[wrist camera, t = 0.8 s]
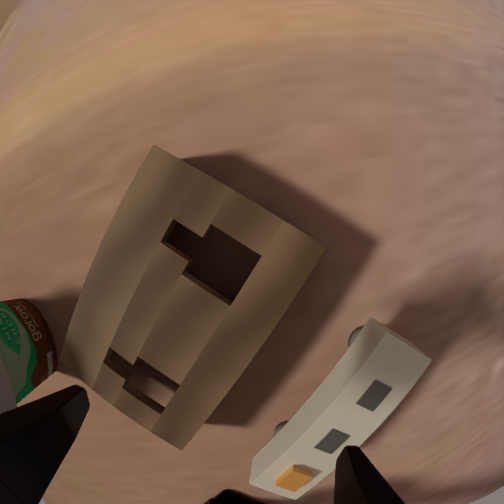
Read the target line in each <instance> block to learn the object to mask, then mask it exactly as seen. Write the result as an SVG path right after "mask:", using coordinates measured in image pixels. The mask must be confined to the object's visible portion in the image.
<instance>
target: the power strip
mask: <svg viewBox="0 0 504 504" xmlns="http://www.w3.org/2000/svg"><path fill="white" fill-rule="evenodd" d="M348 343H349V348H348V350H347V351H346V352H345V354H344V355H343V357H342V358H341V359H340V360H339V362H338V363H337V364H336V366H335V367H334V368H333V370H332V371H331V372H330V373H329V375H328V376H327V377H326V378H325V380H324V381H323V382H322V383H321V385H320V386H319V387H318V388H317V389H316V391H315V392H314V393H313V394H312V395H311V397H310V398H309V399H308V400H307V401H306V402H305V404H304V405H303V406H302V407H301V408H300V409H299V410H298V412H297V413H296V414H295V415H294V416H293V417H292V418H291V419H290V420H289V421H284V422H282V423H280V424H278V425H277V426H276V428H275V432H274V437H273V438H272V440H271V441H270V442H269V443H268V444H267V445H266V446H265V447H264V448H263V449H262V450H261V451H260V452H258V453H257V454H256V455H255V456H254V457H253V461H252V468H251V474H250V481H249V484H251V485H254V486H256V487H259V488H261V489H264V490H267V491H270V492H273V493H275V494H278V495H281V496H284V497H288V498H291V499H294V500H296V499H297V498H299V497H300V496H302V495H303V494H304V493H306V492H307V491H308V490H309V489H311V488H312V487H313V486H315V485H316V484H317V483H318V482H320V481H321V480H322V479H323V478H325V477H326V476H327V475H328V474H329V473H331V472H332V471H333V470H334V469H335V468H336V460H337V458H338V456H339V455H340V453H341V452H342V450H343V448H344V447H345V446H347V445H356V446H358V447H359V446H360V445H361V444H362V443H363V442H364V441H365V440H366V439H367V438H368V437H369V436H370V435H371V434H372V433H373V432H374V431H375V430H376V429H377V428H378V427H379V426H380V425H381V424H382V422H383V421H384V420H385V419H386V418H387V417H388V416H389V415H390V414H391V412H392V411H393V410H394V409H395V408H396V407H397V405H398V404H399V403H400V402H401V401H402V399H403V398H404V397H405V396H406V395H407V393H408V392H409V391H410V390H411V388H412V387H413V386H414V384H415V383H416V382H417V381H418V379H419V378H420V377H421V375H422V374H423V373H424V371H425V370H426V368H427V367H428V366H429V364H430V363H431V361H432V360H431V359H430V358H429V357H428V356H427V355H425V354H424V353H423V352H422V351H421V350H420V349H419V348H417V347H416V346H415V345H414V344H413V343H411V342H410V341H408V340H406V339H405V338H403V337H402V336H400V335H399V334H397V333H396V332H394V331H392V330H391V329H389V328H388V327H386V326H385V325H383V324H382V323H380V322H378V321H377V320H375V319H374V318H372V317H370V318H369V320H368V321H367V323H366V324H365V325H364V326H360V327H358V328H356V329H355V330H354V331H353V332H352V333H351V335H350V337H349V342H348Z"/></svg>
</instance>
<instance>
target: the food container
mask: <svg viewBox="0 0 504 504" xmlns="http://www.w3.org/2000/svg"><path fill="white" fill-rule="evenodd" d="M56 366H57V356H56V348H55V344H54V340H53V336H52V334H51V332H50V330H49V327H48V325H47V323H46V321H45V319H44V318H43V316H42V315H41V313H40V312H39V311H38V309H37V308H36V307H35V306H34V305H33V304H32V303H30V302H29V301H27V300H25V299H14V300H7V301H0V414H1V413H3V412H6V411H9V410H11V409H14V408H17V406H16V404H17V403H19V402H20V401H21V400H22V399H23V398H24V397H26V396H27V395H28V394H29V393H30V392H31V391H33V390H34V389H35V388H36V387H37V386H38V385H40V384H41V383H42V382H43V381H44V380H45V379H47V378H48V377H49V376H50V375H51V374H53V373H54V372H55V371H56Z"/></svg>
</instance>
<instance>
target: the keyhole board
mask: <svg viewBox="0 0 504 504" xmlns="http://www.w3.org/2000/svg"><path fill="white" fill-rule="evenodd" d="M177 222H179V223H180V224H182V225H184V226H185V227H187V228H188V229H190V230H191V231H193V232H195V233H196V234H198V235H199V236H201V237H207V236H208V234H209V232H210V231H211V229H212V227H213V226H215V227H216V228H218V229H220V230H221V231H223V232H224V233H226V234H228V235H229V236H231V237H232V238H234V239H236V240H237V241H239V242H240V243H242V244H244V245H245V246H247V247H248V248H250V249H252V250H253V251H255V252H256V253H258V254H260V255H261V258H260V260H259V261H258V263H257V264H256V266H255V268H254V269H253V271H252V272H251V274H250V276H249V277H248V279H247V280H246V282H245V284H244V285H243V287H242V288H241V290H240V292H239V293H238V295H237V296H236V298H235V300H234V301H233V302H232V301H230V300H229V299H227V298H226V297H224V296H223V295H221V294H219V293H218V292H216V291H215V290H213V289H212V288H210V287H208V286H207V285H205V284H204V283H202V282H201V281H199V280H198V279H196V278H195V277H193V276H192V275H190V274H189V273H187V270H188V268H189V267H190V265H191V263H192V261H193V259H192V258H190V257H189V256H187V255H186V254H184V253H183V252H181V251H180V250H178V249H176V248H175V247H173V246H172V245H170V244H169V243H167V242H166V241H167V239H168V238H169V236H170V234H171V232H172V230H173V229H174V227H175V225H176V223H177ZM326 248H327V247H325V246H324V245H322V244H320V243H319V242H317V241H316V240H314V239H313V238H311V237H309V236H308V235H306V234H305V233H303V232H302V231H300V230H298V229H297V228H295V227H294V226H292V225H290V224H289V223H287V222H286V221H284V220H282V219H281V218H279V217H278V216H276V215H274V214H273V213H271V212H269V211H268V210H266V209H265V208H263V207H261V206H260V205H258V204H256V203H255V202H253V201H251V200H250V199H248V198H246V197H245V196H243V195H241V194H240V193H238V192H236V191H235V190H233V189H231V188H229V187H228V186H226V185H224V184H223V183H221V182H219V181H217V180H216V179H214V178H212V177H211V176H209V175H207V174H205V173H204V172H202V171H200V170H198V169H197V168H195V167H193V166H191V165H189V164H188V163H186V162H184V161H182V160H181V159H179V158H177V157H175V156H173V155H172V154H170V153H168V152H166V151H164V150H162V149H161V148H159V147H157V146H155V145H153V147H152V148H151V150H150V152H149V153H148V155H147V157H146V158H145V160H144V162H143V163H142V165H141V167H140V169H139V170H138V172H137V174H136V176H135V177H134V179H133V181H132V183H131V184H130V186H129V188H128V190H127V192H126V194H125V196H124V197H123V199H122V201H121V203H120V205H119V207H118V209H117V211H116V213H115V215H114V217H113V219H112V221H111V223H110V225H109V227H108V229H107V232H106V234H105V236H104V238H103V240H102V242H101V245H100V247H99V249H98V251H97V254H96V256H95V258H94V261H93V263H92V265H91V268H90V270H89V273H88V275H87V278H86V280H85V283H84V285H83V288H82V290H81V293H80V296H79V299H78V301H77V304H76V307H75V310H74V313H73V315H72V318H71V321H70V324H69V328H68V331H67V334H66V337H65V340H64V344H63V347H62V351H61V354H60V358H59V360H60V361H61V362H62V363H63V364H64V365H65V366H66V367H67V368H68V369H69V370H71V371H72V372H73V373H74V374H75V375H76V376H77V377H78V378H80V379H81V380H82V381H83V382H84V383H85V384H87V385H88V386H89V387H90V388H91V389H93V390H94V391H95V392H96V393H97V394H99V395H100V396H101V397H102V398H104V399H105V400H106V401H108V402H109V403H110V404H112V405H113V406H114V407H116V408H117V409H118V410H120V411H121V412H122V413H124V414H125V415H127V416H128V417H129V418H131V419H132V420H134V421H135V422H137V423H138V424H140V425H141V426H143V427H144V428H146V429H147V430H149V431H150V432H152V433H153V434H155V435H157V436H158V437H160V438H161V439H163V440H165V441H166V442H168V443H170V444H171V445H173V446H175V447H177V448H178V449H180V450H183V448H184V447H185V446H186V445H187V444H188V442H189V441H190V440H191V439H192V437H193V436H194V435H195V434H196V432H197V431H198V430H199V429H200V428H201V426H202V425H203V424H204V422H205V421H206V420H207V419H208V417H209V416H210V415H211V414H212V412H213V411H214V410H215V408H216V407H217V406H218V405H219V403H220V402H221V401H222V399H223V398H224V397H225V395H226V394H227V393H228V391H229V390H230V389H231V387H232V386H233V385H234V383H235V382H236V381H237V379H238V378H239V377H240V375H241V374H242V373H243V371H244V370H245V369H246V367H247V366H248V364H249V363H250V362H251V360H252V359H253V357H254V356H255V355H256V353H257V352H258V350H259V349H260V348H261V346H262V345H263V343H264V342H265V340H266V339H267V338H268V336H269V335H270V333H271V332H272V330H273V329H274V328H275V326H276V325H277V323H278V322H279V320H280V319H281V317H282V316H283V314H284V313H285V311H286V310H287V308H288V307H289V305H290V304H291V302H292V301H293V299H294V298H295V296H296V295H297V293H298V292H299V290H300V289H301V287H302V286H303V284H304V282H305V281H306V279H307V278H308V276H309V275H310V273H311V272H312V270H313V268H314V267H315V265H316V264H317V262H318V260H319V259H320V257H321V256H322V254H323V252H324V251H325V249H326ZM113 350H114V351H115V352H116V353H118V354H119V355H120V356H122V357H123V358H124V359H126V360H127V361H128V362H130V363H131V364H132V365H134V364H135V363H136V362H137V361H138V360H139V359H140V358H141V359H142V360H144V361H145V362H147V363H148V364H149V365H151V366H152V367H154V368H155V369H157V370H158V371H160V372H161V373H163V374H164V375H165V376H167V377H168V378H170V379H172V380H173V381H175V382H176V383H178V384H179V385H180V386H179V388H178V389H177V391H176V392H175V394H174V395H173V397H172V398H171V400H170V401H169V403H168V405H167V406H166V408H165V407H163V406H162V405H160V404H159V403H157V402H156V401H154V400H153V399H151V398H150V397H148V396H147V395H145V394H144V393H142V392H141V391H140V390H138V389H137V388H135V387H134V386H133V385H131V384H130V383H129V382H128V381H129V379H130V377H131V375H132V374H131V373H129V372H128V371H127V370H125V369H124V368H123V367H121V366H120V365H119V364H117V363H116V362H115V361H114V360H112V359H111V358H110V355H111V353H112V351H113Z"/></svg>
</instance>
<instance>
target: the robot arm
mask: <svg viewBox="0 0 504 504" xmlns="http://www.w3.org/2000/svg"><path fill="white" fill-rule="evenodd" d="M89 407H90V403H89V399H88V396H87V392H86V390H85V388H83V387H81V386H78V385H72V386H70V387H68V388H65V389H63V390H60V391H58V392H55V393H53V394H50V395H48V396H45V397H43V398H40V399H38V400H35V401H33V402H30V403H27V404H25V405H22V406H20V407H17V408H14V409H11V410H9V411H6V412H3V413H1V414H0V504H39V502H40V500H41V498H42V497H43V495H44V493H45V491H46V489H47V487H48V486H49V484H50V482H51V480H52V479H53V477H54V475H55V473H56V471H57V470H58V468H59V466H60V464H61V463H62V461H63V459H64V458H65V456H66V454H67V453H68V451H69V449H70V447H71V446H72V444H73V442H74V441H75V439H76V437H77V434H78V432H79V430H80V428H81V425H82V423H83V421H84V419H85V417H86V414H87V412H88V410H89ZM204 504H263V503H260V502H257V501H254V500H251V499H249V498H246V497H243V496H241V495H238V494H236V493H233V492H231V491H228V490H223V491H222V492H220V493H219V494H218V495H217V496H215V497H214V498H211V499H209V500H208V501H207V502H205V503H204ZM334 504H405V503H404V502H403V500H402V499H401V498H400V497H399V496H398V494H397V493H396V492H395V491H394V490H393V488H392V487H391V486H390V485H389V484H388V482H387V481H386V480H385V479H384V478H383V476H382V475H381V474H380V473H379V472H378V470H377V469H376V468H375V467H374V465H373V464H372V463H371V462H370V460H369V459H368V458H367V457H366V455H365V454H364V453H363V452H362V450H361V449H360V448H359V447H358V446H356V445H347V446H345V447H344V448H343V450H342V452H341V453H340V455H339V456H338V458H337V460H336V470H335V489H334Z"/></svg>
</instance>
